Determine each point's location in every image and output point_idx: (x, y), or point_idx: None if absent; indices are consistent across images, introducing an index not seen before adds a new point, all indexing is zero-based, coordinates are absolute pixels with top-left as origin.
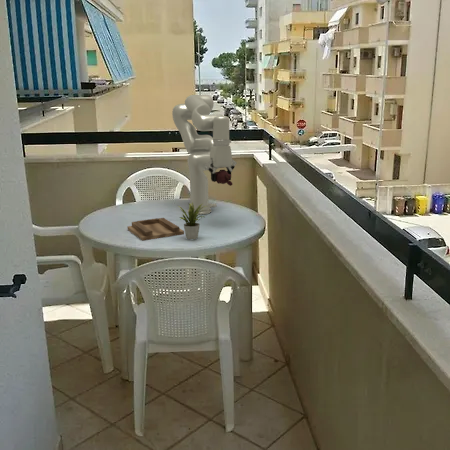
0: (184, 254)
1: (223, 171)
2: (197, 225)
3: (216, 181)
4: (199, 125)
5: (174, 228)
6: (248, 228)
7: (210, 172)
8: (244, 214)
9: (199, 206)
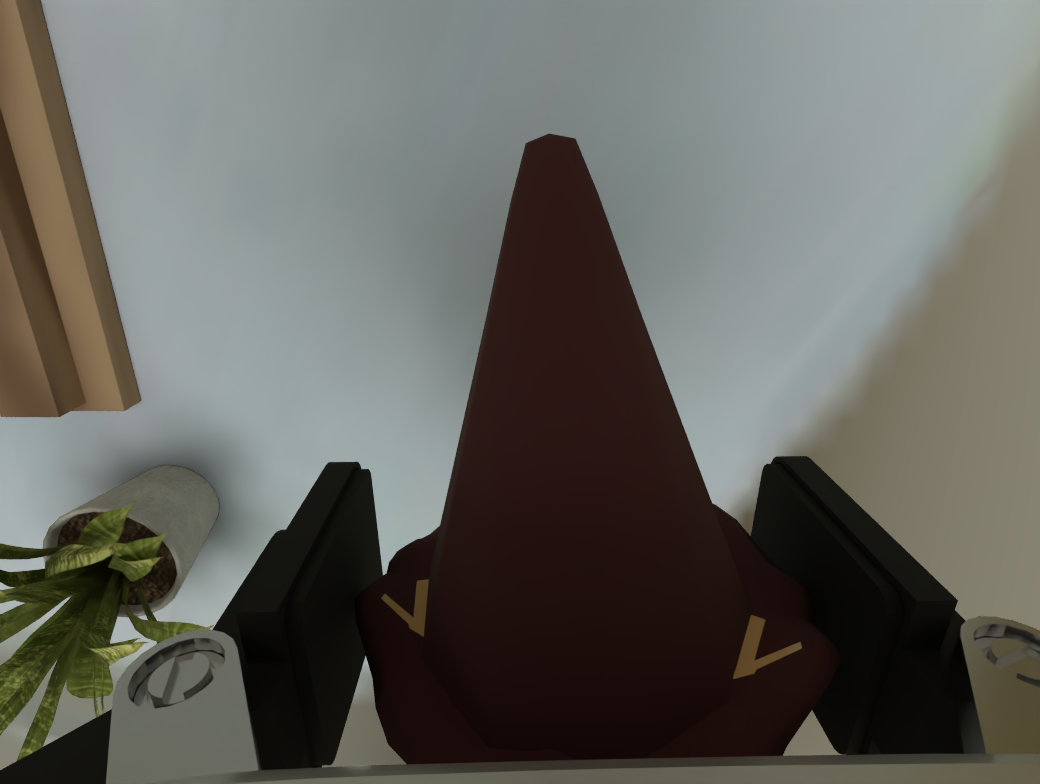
0: (65, 715)
1: None
2: (166, 574)
3: (428, 536)
4: None
5: (16, 414)
6: None
7: (166, 667)
8: (927, 85)
9: (101, 654)
